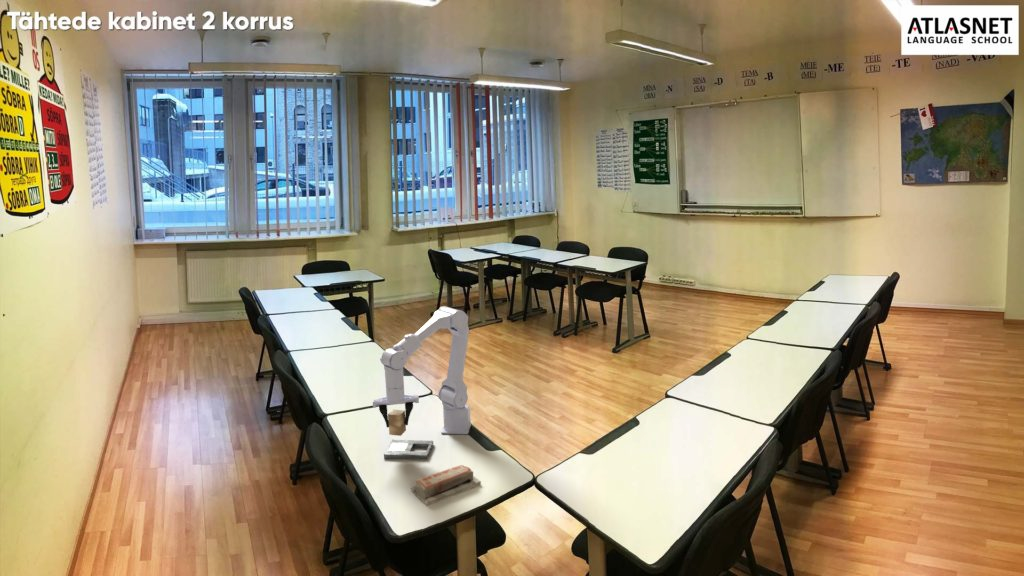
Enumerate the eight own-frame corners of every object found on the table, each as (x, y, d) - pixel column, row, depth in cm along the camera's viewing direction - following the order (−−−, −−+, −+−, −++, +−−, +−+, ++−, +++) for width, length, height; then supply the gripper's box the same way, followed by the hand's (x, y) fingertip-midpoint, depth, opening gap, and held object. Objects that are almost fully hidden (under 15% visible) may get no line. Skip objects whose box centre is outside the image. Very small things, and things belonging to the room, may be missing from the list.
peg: (406, 430, 195) (404, 410, 194) (400, 435, 191) (399, 415, 190) (394, 429, 196) (393, 409, 195) (389, 434, 192) (387, 414, 191)
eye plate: (433, 444, 200) (433, 440, 199) (427, 459, 190) (426, 455, 189) (392, 443, 201) (392, 439, 200) (384, 458, 191) (383, 454, 191)
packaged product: (426, 491, 164) (409, 476, 172) (426, 507, 165) (410, 491, 173) (481, 471, 174) (463, 457, 182) (481, 486, 175) (463, 472, 183)
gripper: (416, 379, 196) (418, 417, 199) (371, 383, 193) (374, 422, 196) (418, 386, 189) (420, 426, 192) (371, 391, 186) (374, 431, 189)
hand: (397, 425), depth 193 cm, fingers closed on peg, 5 cm apart
